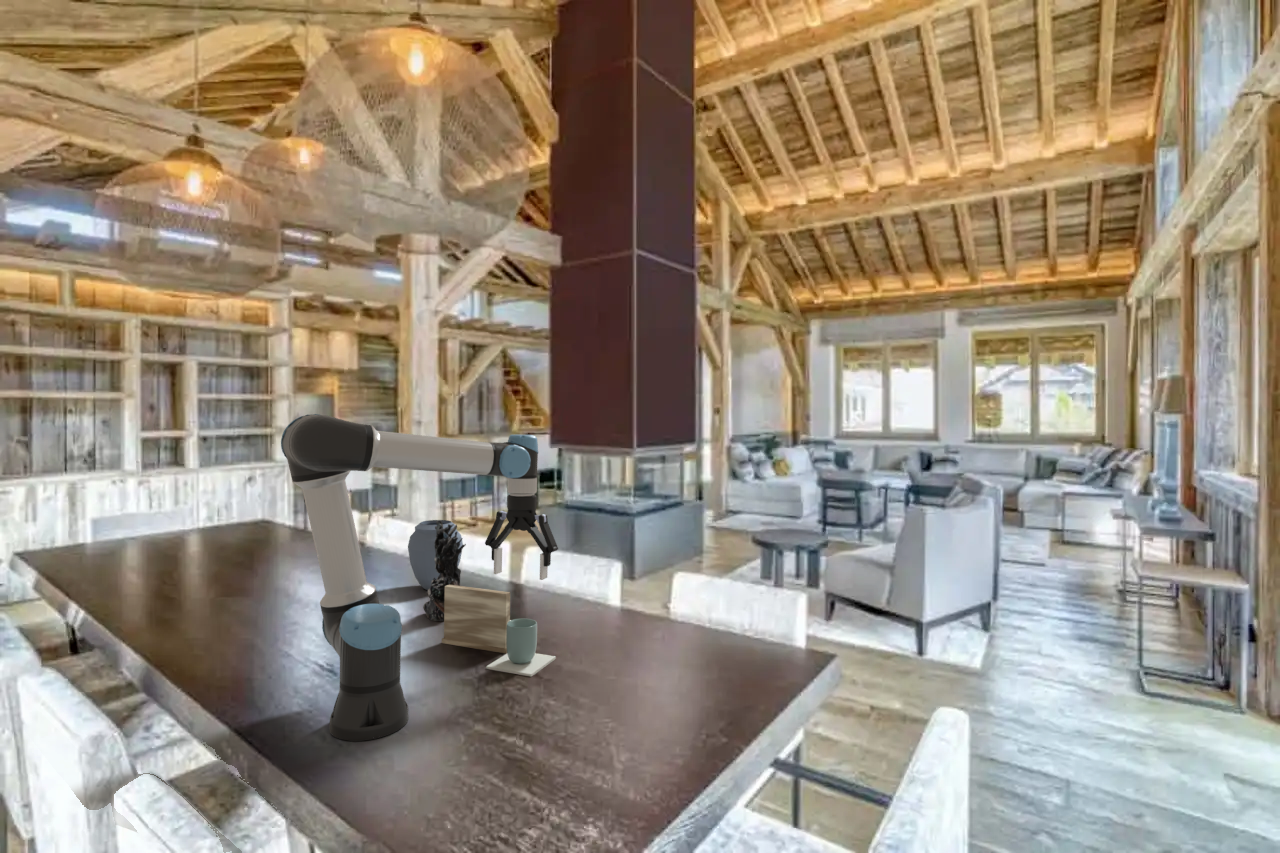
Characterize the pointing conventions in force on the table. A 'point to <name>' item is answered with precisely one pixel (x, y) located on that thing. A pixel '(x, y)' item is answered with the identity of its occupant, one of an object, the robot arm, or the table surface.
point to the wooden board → (476, 618)
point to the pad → (521, 665)
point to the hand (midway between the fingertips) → (520, 576)
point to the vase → (426, 551)
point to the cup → (521, 640)
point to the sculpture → (443, 570)
